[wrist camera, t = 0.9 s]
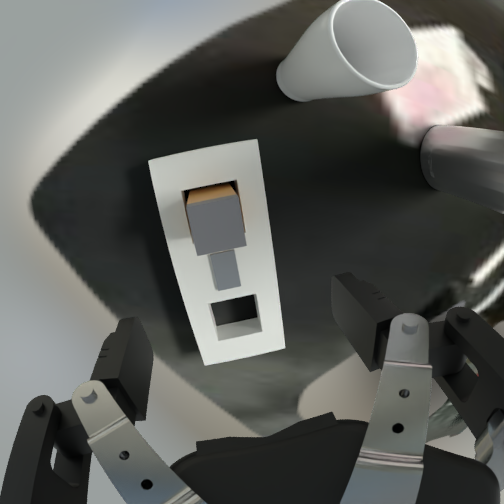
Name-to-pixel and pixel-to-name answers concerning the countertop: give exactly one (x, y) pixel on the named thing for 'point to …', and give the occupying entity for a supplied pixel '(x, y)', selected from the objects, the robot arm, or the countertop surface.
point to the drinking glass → (350, 53)
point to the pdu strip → (224, 262)
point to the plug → (215, 219)
